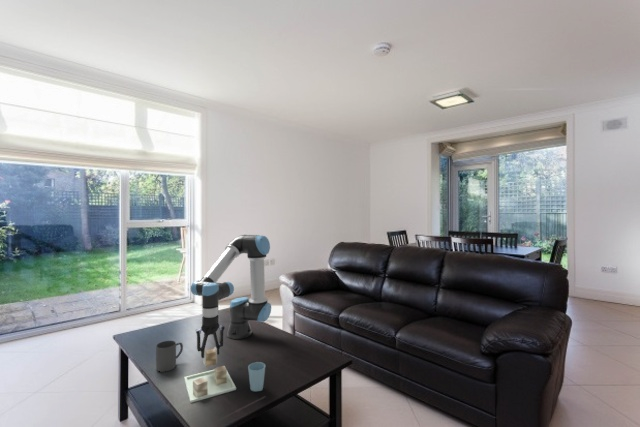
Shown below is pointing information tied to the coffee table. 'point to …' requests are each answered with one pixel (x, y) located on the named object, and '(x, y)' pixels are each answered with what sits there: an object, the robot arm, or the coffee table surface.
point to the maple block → (200, 387)
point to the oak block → (210, 357)
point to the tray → (212, 386)
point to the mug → (167, 355)
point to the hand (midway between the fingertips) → (210, 362)
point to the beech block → (220, 375)
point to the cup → (256, 375)
